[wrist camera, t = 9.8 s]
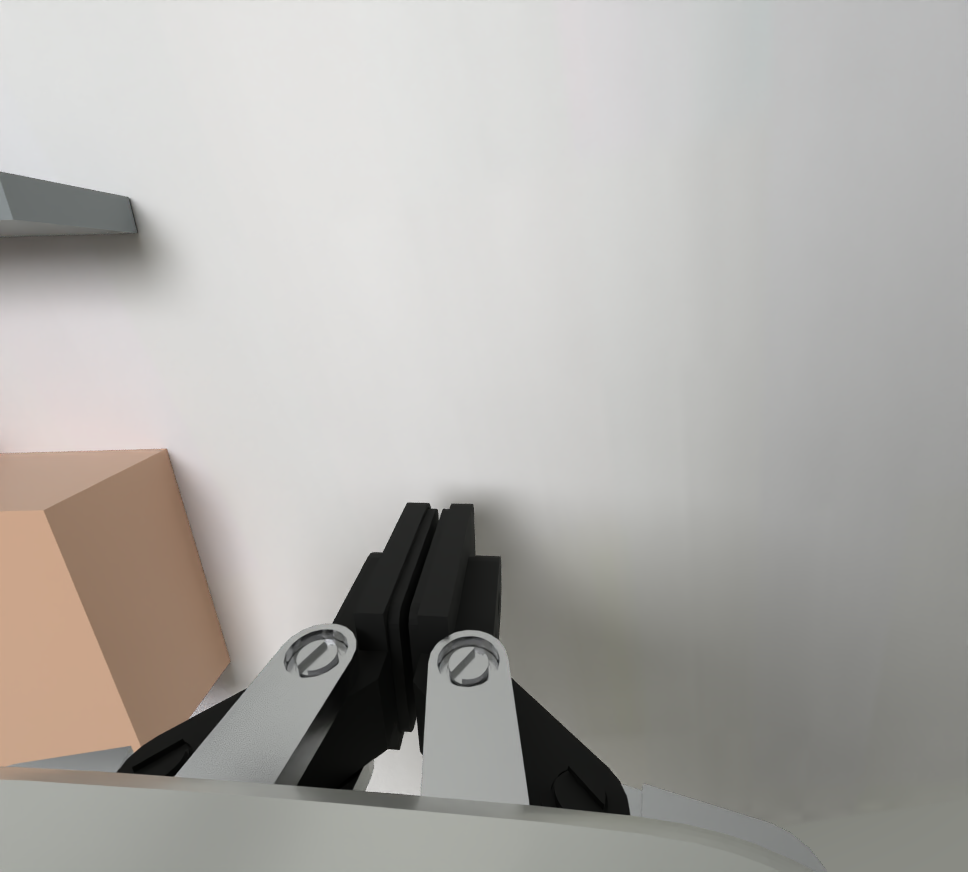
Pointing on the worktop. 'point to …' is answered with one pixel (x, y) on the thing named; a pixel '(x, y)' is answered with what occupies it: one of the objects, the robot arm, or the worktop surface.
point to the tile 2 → (98, 604)
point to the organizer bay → (59, 209)
